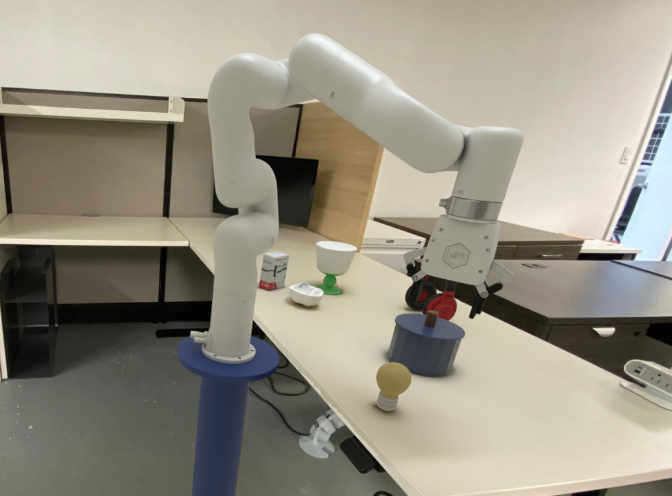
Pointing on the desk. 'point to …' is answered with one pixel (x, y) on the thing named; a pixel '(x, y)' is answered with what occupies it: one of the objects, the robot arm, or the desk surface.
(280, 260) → the ink box
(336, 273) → the cup
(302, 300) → the cell model
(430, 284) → the headphones
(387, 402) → the light bulb
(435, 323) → the pot lid
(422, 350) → the pot
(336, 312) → the desk surface
